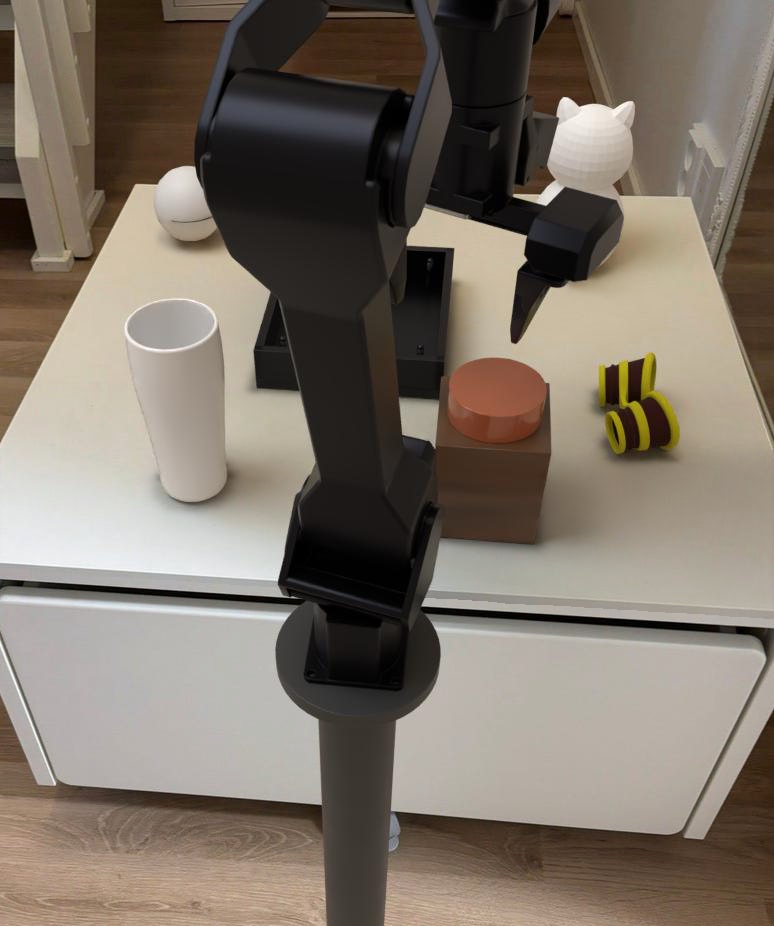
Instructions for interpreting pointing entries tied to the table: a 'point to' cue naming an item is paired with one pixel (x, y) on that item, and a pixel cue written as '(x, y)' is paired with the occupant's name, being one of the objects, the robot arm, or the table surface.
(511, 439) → the disc
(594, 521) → the table surface
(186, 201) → the white ball
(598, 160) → the cat figurine
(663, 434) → the opera glasses
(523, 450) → the block
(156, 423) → the drinking glass
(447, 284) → the tray
